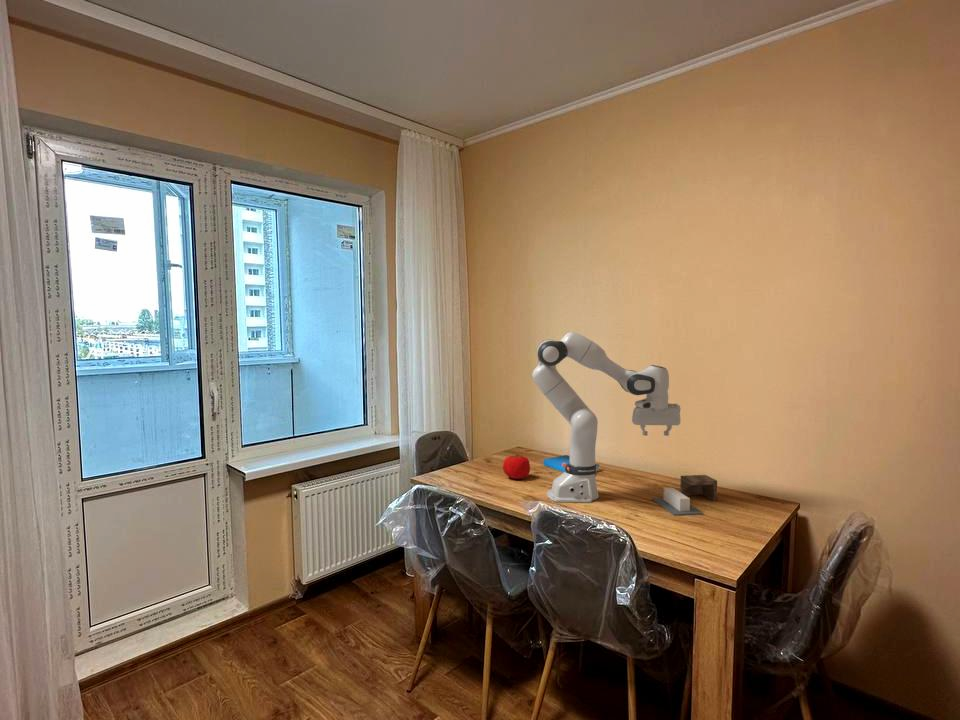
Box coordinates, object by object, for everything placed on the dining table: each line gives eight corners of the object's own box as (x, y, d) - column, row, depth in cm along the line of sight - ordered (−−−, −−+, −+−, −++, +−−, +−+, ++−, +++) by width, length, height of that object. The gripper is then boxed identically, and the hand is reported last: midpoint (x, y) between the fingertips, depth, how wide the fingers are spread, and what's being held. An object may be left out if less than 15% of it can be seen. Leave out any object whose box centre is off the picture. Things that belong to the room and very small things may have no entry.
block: (679, 511, 196) (680, 498, 196) (663, 499, 210) (663, 487, 210) (689, 510, 197) (689, 498, 197) (672, 499, 211) (672, 487, 210)
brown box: (691, 501, 209) (691, 481, 209) (680, 494, 218) (680, 475, 218) (716, 500, 210) (717, 480, 210) (705, 493, 219) (705, 474, 219)
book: (566, 454, 277) (599, 463, 256) (566, 462, 278) (599, 472, 257) (542, 459, 268) (575, 468, 247) (542, 467, 268) (575, 477, 247)
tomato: (531, 481, 239) (530, 458, 239) (503, 481, 239) (503, 458, 239) (529, 474, 251) (528, 451, 251) (502, 474, 252) (502, 452, 251)
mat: (673, 515, 193) (673, 514, 193) (652, 499, 212) (652, 498, 212) (703, 514, 195) (703, 512, 195) (678, 498, 213) (678, 497, 213)
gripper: (676, 402, 216) (675, 433, 217) (631, 402, 214) (630, 433, 215) (684, 404, 210) (682, 437, 211) (637, 404, 208) (635, 436, 209)
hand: (655, 435), depth 213 cm, fingers open, 8 cm apart
